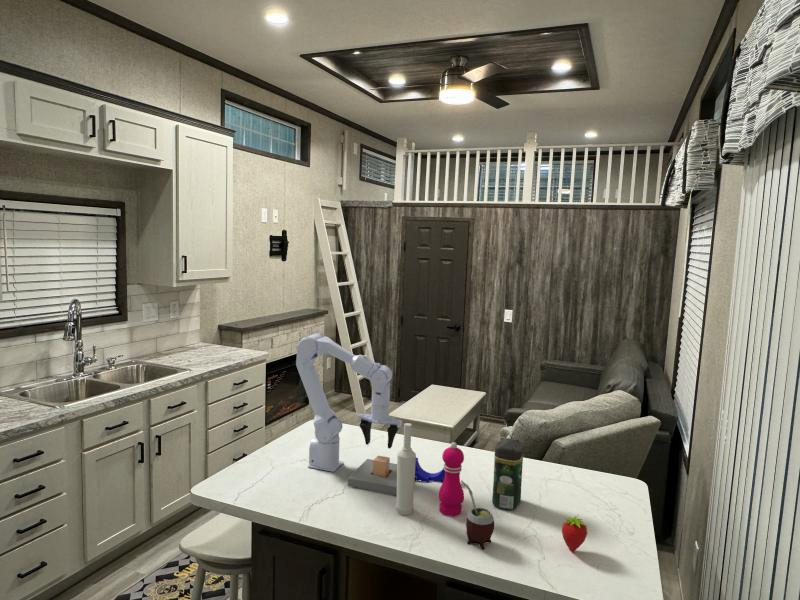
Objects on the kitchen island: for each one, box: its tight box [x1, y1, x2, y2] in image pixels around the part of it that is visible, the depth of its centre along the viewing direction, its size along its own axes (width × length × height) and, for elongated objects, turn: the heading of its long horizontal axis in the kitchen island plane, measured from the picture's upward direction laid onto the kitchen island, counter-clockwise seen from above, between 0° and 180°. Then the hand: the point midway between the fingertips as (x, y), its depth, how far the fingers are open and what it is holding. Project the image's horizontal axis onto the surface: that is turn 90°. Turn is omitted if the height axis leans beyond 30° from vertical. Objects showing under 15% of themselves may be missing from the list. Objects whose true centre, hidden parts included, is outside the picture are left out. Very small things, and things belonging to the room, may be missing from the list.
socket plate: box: [346, 458, 397, 496], centre depth 170 cm, size 16×16×2 cm
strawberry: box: [561, 513, 588, 553], centre depth 134 cm, size 6×8×10 cm
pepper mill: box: [437, 441, 465, 517], centre depth 151 cm, size 7×7×20 cm
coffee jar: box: [491, 437, 525, 511], centre depth 157 cm, size 10×8×19 cm
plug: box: [372, 455, 391, 477], centre depth 170 cm, size 4×4×7 cm
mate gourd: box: [460, 479, 495, 550], centre depth 136 cm, size 8×8×15 cm
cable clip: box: [415, 457, 445, 483], centre depth 172 cm, size 12×4×6 cm, turn 75°
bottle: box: [394, 422, 417, 516], centre depth 150 cm, size 5×5×25 cm
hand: (378, 445), depth 174 cm, fingers open, 7 cm apart
